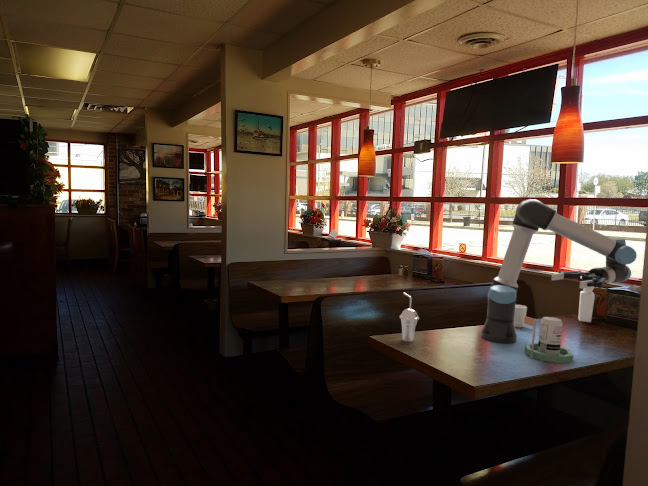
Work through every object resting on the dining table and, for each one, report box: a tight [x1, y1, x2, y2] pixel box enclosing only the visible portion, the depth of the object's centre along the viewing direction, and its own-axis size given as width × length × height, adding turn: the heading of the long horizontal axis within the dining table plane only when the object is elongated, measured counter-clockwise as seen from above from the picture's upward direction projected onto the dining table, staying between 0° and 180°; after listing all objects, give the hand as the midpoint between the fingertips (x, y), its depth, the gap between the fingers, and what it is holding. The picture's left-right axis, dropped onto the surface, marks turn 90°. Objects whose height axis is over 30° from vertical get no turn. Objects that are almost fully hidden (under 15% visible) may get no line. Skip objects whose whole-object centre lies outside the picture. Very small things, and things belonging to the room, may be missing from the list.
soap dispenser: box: [578, 286, 596, 323], centre depth 254 cm, size 6×6×22 cm
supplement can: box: [537, 316, 564, 356], centre depth 191 cm, size 8×8×15 cm
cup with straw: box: [399, 292, 420, 342], centre depth 203 cm, size 8×9×20 cm
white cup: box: [514, 304, 528, 328], centre depth 237 cm, size 8×8×10 cm
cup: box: [524, 315, 574, 364], centre depth 191 cm, size 19×17×16 cm
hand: (565, 281), depth 195 cm, fingers open, 13 cm apart
